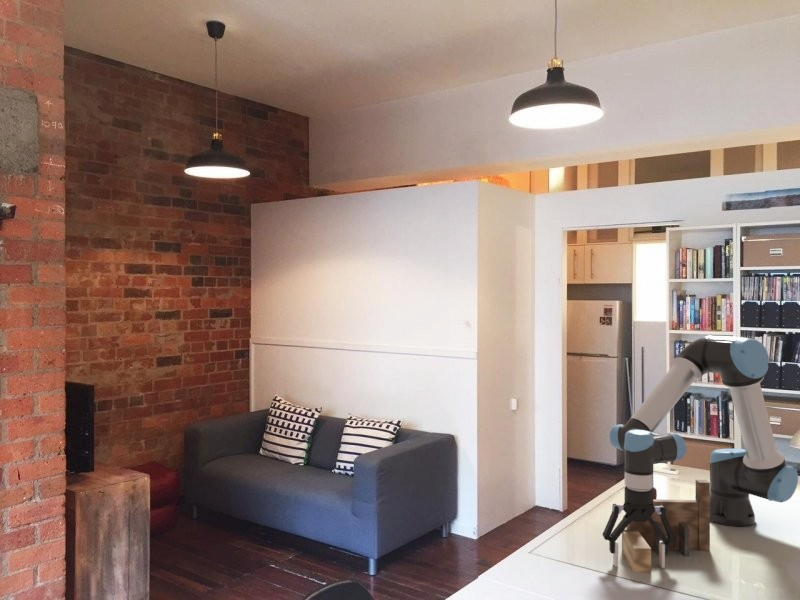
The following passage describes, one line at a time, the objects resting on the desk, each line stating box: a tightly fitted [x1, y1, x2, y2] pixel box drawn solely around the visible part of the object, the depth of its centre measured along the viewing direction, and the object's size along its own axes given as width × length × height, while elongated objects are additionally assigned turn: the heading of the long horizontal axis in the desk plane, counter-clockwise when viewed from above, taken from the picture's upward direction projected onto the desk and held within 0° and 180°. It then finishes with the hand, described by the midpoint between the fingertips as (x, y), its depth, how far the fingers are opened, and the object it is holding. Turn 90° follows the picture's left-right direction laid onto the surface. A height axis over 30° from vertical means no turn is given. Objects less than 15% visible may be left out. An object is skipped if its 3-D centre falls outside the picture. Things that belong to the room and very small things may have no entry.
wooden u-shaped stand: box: [626, 479, 711, 557], centre depth 195 cm, size 23×8×20 cm, turn 85°
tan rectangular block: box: [621, 529, 652, 573], centre depth 187 cm, size 5×13×7 cm, turn 175°
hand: (638, 565), depth 184 cm, fingers open, 12 cm apart
